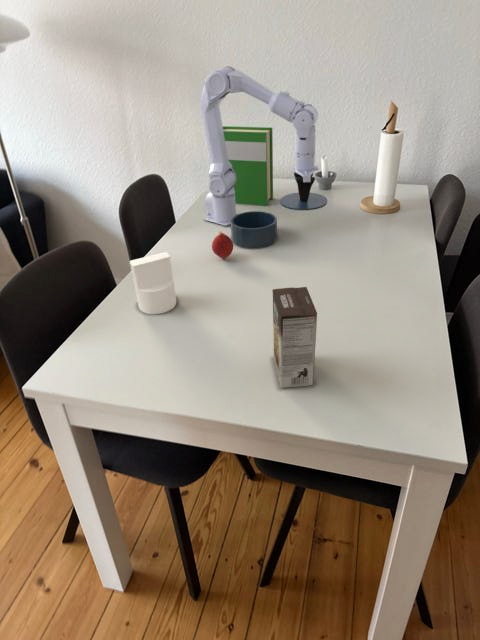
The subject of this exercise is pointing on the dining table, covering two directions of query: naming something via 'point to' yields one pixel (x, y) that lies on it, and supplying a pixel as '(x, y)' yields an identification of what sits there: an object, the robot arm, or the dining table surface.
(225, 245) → the red round fruit
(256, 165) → the hardback book
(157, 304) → the base with upright slab
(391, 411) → the dining table surface
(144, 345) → the dining table surface
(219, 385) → the dining table surface
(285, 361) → the coffee box
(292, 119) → the robot arm
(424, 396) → the dining table surface
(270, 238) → the pot
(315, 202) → the pot lid
